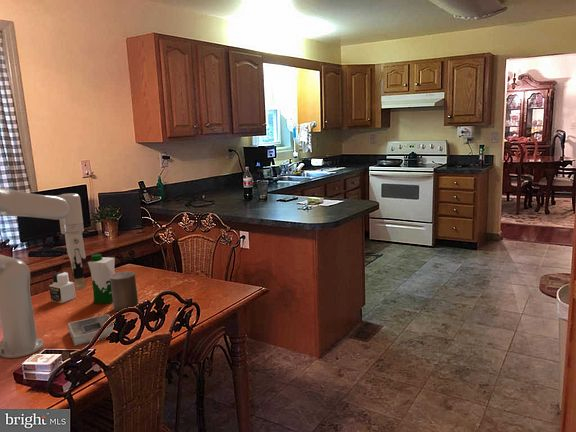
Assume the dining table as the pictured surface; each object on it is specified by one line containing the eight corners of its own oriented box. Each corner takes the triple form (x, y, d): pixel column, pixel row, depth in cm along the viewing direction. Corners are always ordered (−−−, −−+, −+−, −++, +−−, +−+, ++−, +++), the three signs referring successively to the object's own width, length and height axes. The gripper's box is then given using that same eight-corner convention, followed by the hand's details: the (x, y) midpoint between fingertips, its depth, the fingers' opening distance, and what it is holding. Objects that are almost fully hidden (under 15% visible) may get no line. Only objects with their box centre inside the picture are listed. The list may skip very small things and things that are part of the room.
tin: (75, 346, 154) (73, 337, 154) (68, 332, 166) (67, 323, 165) (118, 335, 162) (117, 326, 161) (109, 322, 173) (108, 313, 173)
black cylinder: (77, 290, 168) (70, 259, 165) (76, 288, 170) (69, 257, 168) (86, 288, 169) (79, 257, 167) (84, 285, 172) (78, 255, 169)
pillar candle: (142, 306, 188) (139, 271, 185) (119, 313, 181) (115, 277, 179) (131, 301, 195) (128, 266, 192) (109, 307, 188) (105, 272, 185)
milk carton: (102, 296, 201) (97, 252, 198) (121, 297, 200) (116, 252, 196) (90, 303, 193) (84, 257, 189) (110, 304, 191) (104, 258, 187)
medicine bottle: (50, 301, 198) (47, 274, 195) (65, 295, 204) (61, 269, 202) (61, 303, 194) (57, 276, 192) (76, 297, 201) (72, 271, 198)
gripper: (87, 230, 161) (93, 280, 164) (79, 223, 174) (85, 269, 178) (63, 233, 157) (70, 285, 160) (57, 225, 170) (63, 273, 174)
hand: (78, 276), depth 169 cm, fingers closed on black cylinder, 3 cm apart
